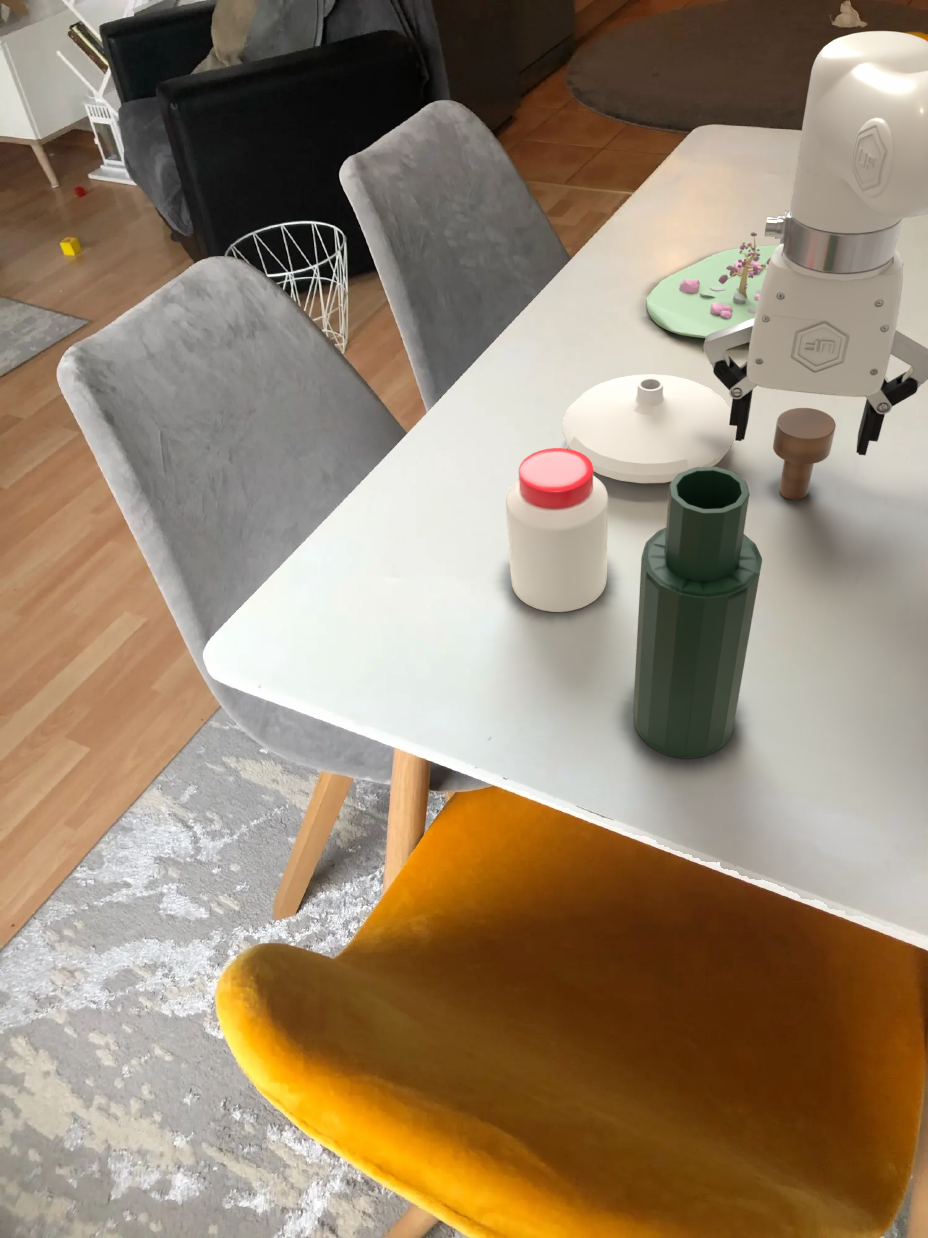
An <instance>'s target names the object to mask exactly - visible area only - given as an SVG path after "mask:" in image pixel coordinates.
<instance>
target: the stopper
mask: <svg viewBox="0 0 928 1238" xmlns="http://www.w3.org/2000/svg"><path fill="white" fill-rule="evenodd" d="M836 424H837V423H836V421H835V419H834V418H833V417H832V416H831V415H829V413H827V412H825V411H822V410H820V409H816V408H812V407H795V408H791V409H788V410H785V411H784V412H782V413H780V414H779V416H778V417H777V419H776V424H775V431H774V436H773V443H772V450H773V451H774V453H775V455H776V456H777V457H779V458H780V459H782V460H783V465H782V469H781V470H782V471H781V476H780V481H779V486H778V492H779V494H780V495H781V496H782V497H783V498H785V499H789V500H801V499H804V498H805V497H807V495H808V493H809V489H810V483H811V479H812V474H813V469H814V464H818V463H820V462H823V461H824V460H826V459H827V458H828V456H830V454H831V451H832V446H833V442H834V435H835V431H836V426H837V425H836Z"/></svg>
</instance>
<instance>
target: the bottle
mask: <svg viewBox="0 0 928 1238" xmlns="http://www.w3.org/2000/svg"><path fill="white" fill-rule="evenodd" d="M749 500H750V490H749V487H748V482H747V481H746V480H744V479H743V478H742V477H741V476H740V475H739V474H737V473H736V472H734V471H732V470H729V469H725V468H721V467H718V466H712V467H695V468H692V469H689V470H686V471H684V472H681V473H679V474H678V475H677V476H676V477H675V478H674V480H673V481H671V482H670V484H669V486H668V500H667V514H666V525H665V527H664V528H661V529H659V530H657V531H656V532H655V533H654V534H653V535H652V536H651V537H650V538H649V539H648V540H647V541H645V544H644V548H643V550H642V554H641V560H640V561H641V563H640V577H639V597H638V612H637V613H638V614H637V615H638V616H637V617H638V618H637V633H636V649H635V650H636V651H635V668H634V669H635V671H634V687H633V688H634V689H633V706H632V707H633V708H632V709H633V710H632V713H633V723H634V727H635V730H636V731H637V734H638V735H639V737H640V738H641V739H642V740H643V741H644V742H645V743H646V745H648V746H649V747H650V748H652V749H654V750H655V751H657V752H659V753H660V754H663V755H665V756H668V757H673V758H678V759H697V758H703V757H706V756H709V755H711V754H714V753H715V752H717V751H719V750H720V749H721V748H723V747H724V746H725V745H726V744H727V743H728V741H730V738H731V736H732V734H733V731H734V726H735V720H736V714H737V710H738V709H737V708H738V702H739V697H740V691H741V685H742V680H743V675H744V674H743V673H744V668H745V661H746V656H747V650H748V644H749V639H750V633H751V628H752V622H753V617H754V609H755V603H756V598H757V593H758V587H759V582H760V581H759V580H760V576H761V575H760V574H761V569H762V563H763V557H762V555H761V552H760V550H759V548H758V546H757V544H756V542H754V541H753V540H752V539H751V538H749V537H748V536H747V535H746V534H745V526H746V520H747V513H748V507H749Z"/></svg>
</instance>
